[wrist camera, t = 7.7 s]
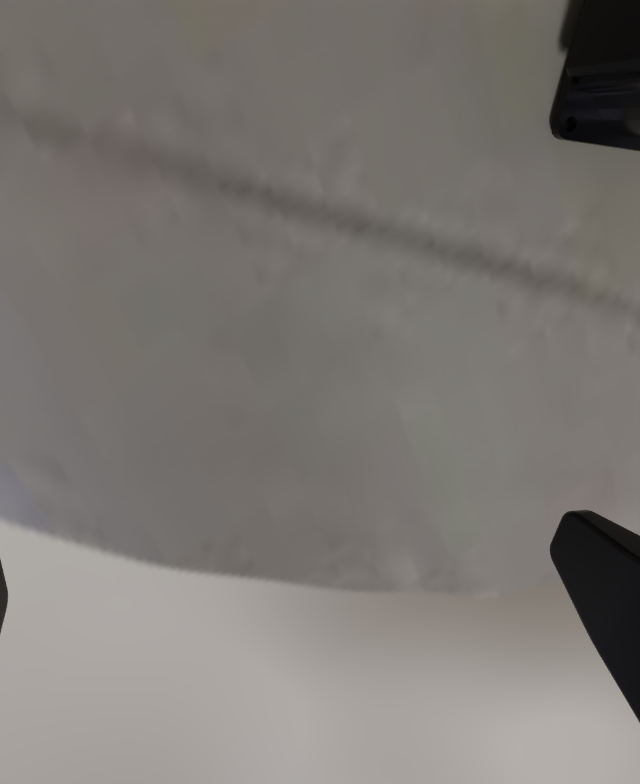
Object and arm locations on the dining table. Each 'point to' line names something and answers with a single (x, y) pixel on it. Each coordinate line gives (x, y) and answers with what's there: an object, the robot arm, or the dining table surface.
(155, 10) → the dining table surface
